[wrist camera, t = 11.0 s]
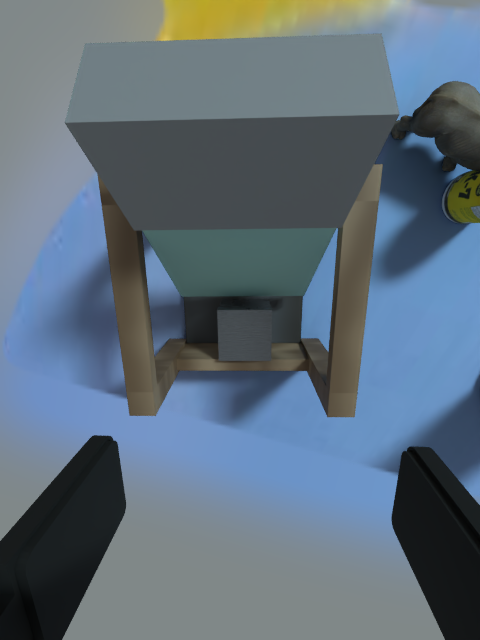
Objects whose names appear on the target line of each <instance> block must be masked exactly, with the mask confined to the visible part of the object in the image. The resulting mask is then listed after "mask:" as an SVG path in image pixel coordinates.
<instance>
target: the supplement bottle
mask: <svg viewBox="0 0 480 640" xmlns="http://www.w3.org/2000/svg"><path fill="white" fill-rule="evenodd" d="M442 209H443V212H444V214H445V215H446V217H447V218H448V219H450V220H451V221H453V222H455V223H460V224H468V223H480V170H472V171H469V172H466V173H463V174H461V175H459V176H458V177H456V178H455V179H454V180H453V181H452V182H451V183H450V184H449V185H448V187H447V188H446V190H445V192H444V195H443V198H442Z"/></svg>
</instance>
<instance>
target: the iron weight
mask: <svg viewBox="0 0 480 640" xmlns="http://www.w3.org/2000/svg"><path fill="white" fill-rule="evenodd" d="M217 319H218V349H219V361H271V345H272V308H271V305H270V302H269V299H222V301H221V303H220V305H219V307H218V309H217Z"/></svg>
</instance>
